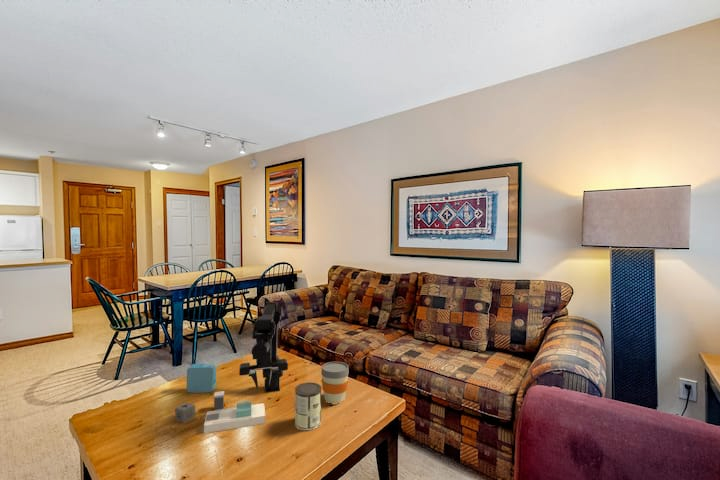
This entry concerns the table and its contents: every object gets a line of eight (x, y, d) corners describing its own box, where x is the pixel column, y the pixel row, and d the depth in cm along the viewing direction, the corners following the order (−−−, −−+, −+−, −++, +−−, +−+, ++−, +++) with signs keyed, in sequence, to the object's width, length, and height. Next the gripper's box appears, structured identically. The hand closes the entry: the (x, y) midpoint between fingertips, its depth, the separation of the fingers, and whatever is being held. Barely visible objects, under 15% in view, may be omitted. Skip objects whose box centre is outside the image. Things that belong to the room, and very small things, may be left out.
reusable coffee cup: (315, 403, 146) (316, 369, 146) (328, 390, 158) (329, 359, 157) (341, 409, 141) (341, 374, 141) (352, 396, 153) (353, 364, 153)
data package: (216, 388, 158) (216, 363, 158) (212, 392, 154) (212, 367, 154) (190, 388, 158) (191, 363, 158) (186, 392, 153) (186, 367, 153)
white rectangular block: (224, 405, 142) (224, 391, 142) (223, 410, 139) (223, 395, 139) (214, 407, 141) (214, 392, 141) (213, 411, 137) (213, 396, 137)
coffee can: (302, 414, 137) (303, 380, 137) (325, 418, 134) (325, 384, 133) (289, 427, 127) (290, 391, 127) (313, 433, 124) (314, 396, 124)
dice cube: (186, 414, 136) (186, 402, 135) (194, 417, 133) (195, 405, 133) (175, 420, 131) (175, 407, 131) (183, 423, 129) (183, 410, 129)
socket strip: (263, 410, 139) (263, 402, 139) (265, 423, 130) (265, 414, 130) (206, 419, 132) (207, 410, 132) (204, 433, 123) (204, 424, 122)
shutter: (250, 406, 136) (251, 400, 136) (251, 415, 129) (251, 409, 129) (236, 408, 134) (236, 402, 134) (236, 418, 128) (236, 411, 128)
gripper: (285, 341, 145) (284, 376, 145) (240, 345, 138) (239, 382, 139) (288, 349, 134) (287, 387, 134) (239, 354, 128) (239, 394, 128)
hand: (263, 387), depth 134 cm, fingers open, 5 cm apart
